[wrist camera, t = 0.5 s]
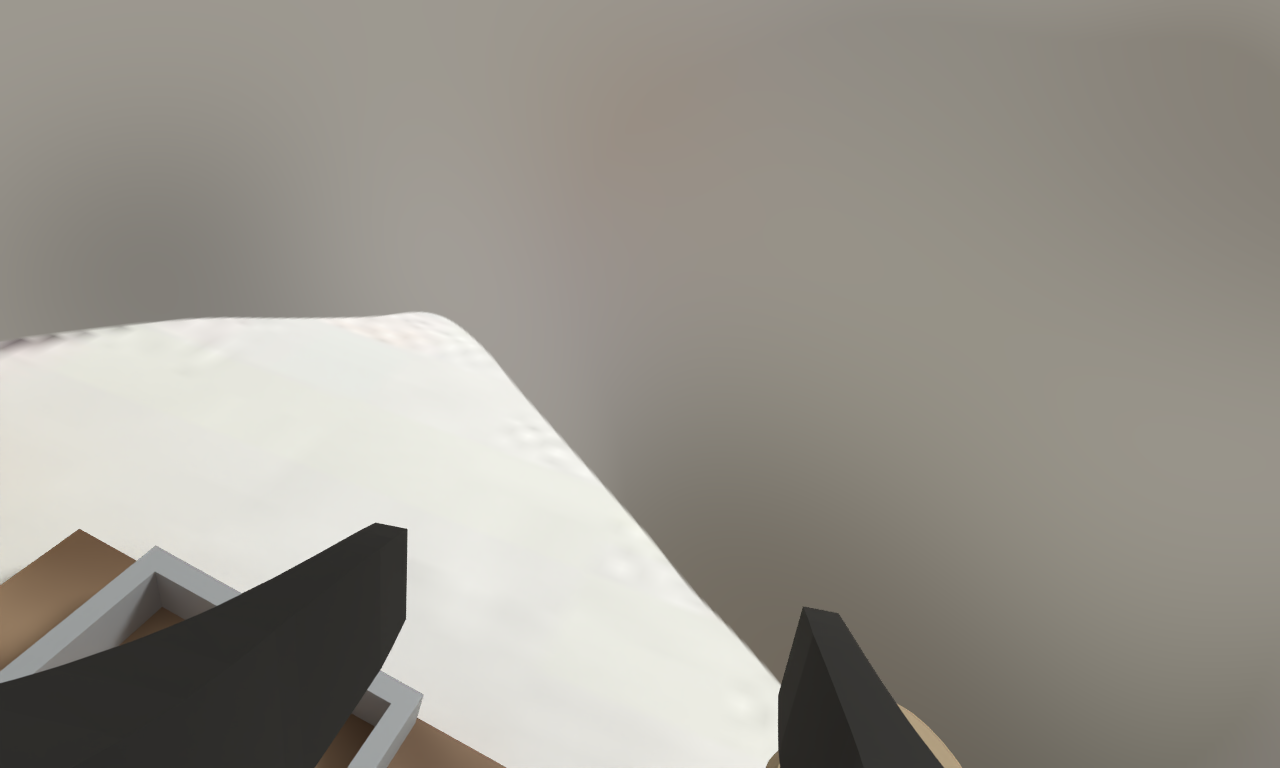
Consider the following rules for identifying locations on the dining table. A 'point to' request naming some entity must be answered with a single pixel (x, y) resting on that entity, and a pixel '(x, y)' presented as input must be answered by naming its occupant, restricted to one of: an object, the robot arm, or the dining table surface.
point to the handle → (924, 732)
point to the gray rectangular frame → (188, 595)
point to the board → (85, 565)
